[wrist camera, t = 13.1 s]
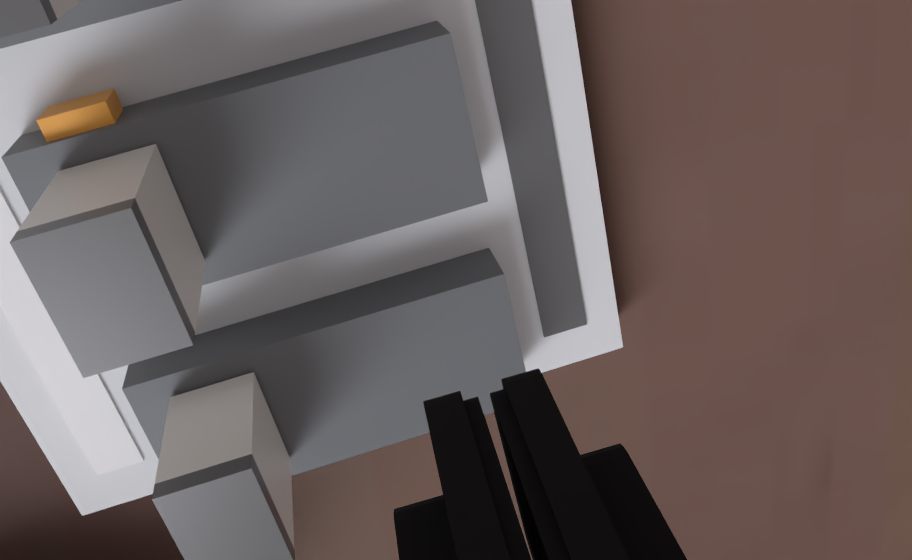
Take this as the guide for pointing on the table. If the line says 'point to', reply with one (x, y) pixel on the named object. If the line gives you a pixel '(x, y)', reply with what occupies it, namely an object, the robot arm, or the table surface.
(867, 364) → the table surface
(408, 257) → the breaker panel
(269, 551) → the block
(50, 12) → the block
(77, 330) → the block
